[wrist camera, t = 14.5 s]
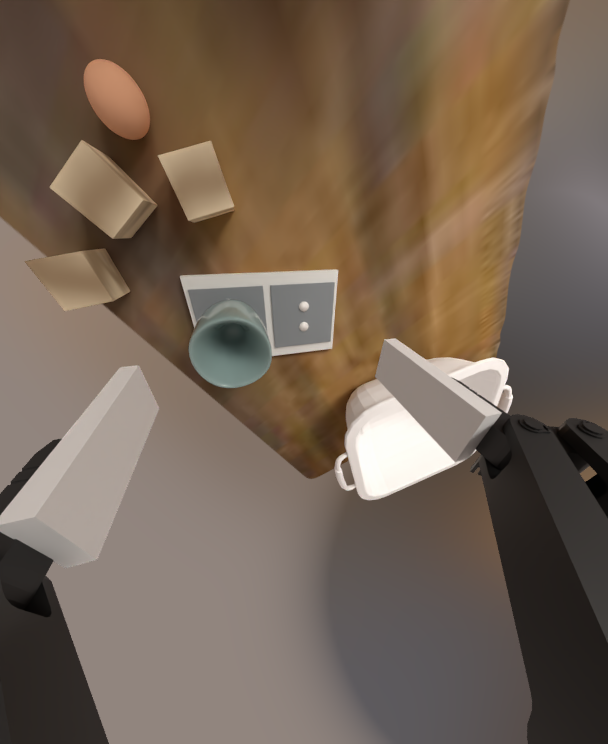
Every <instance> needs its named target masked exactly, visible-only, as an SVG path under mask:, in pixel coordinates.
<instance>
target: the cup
mask: <svg viewBox="0 0 608 744" xmlns="http://www.w3.org/2000/svg"><path fill="white" fill-rule="evenodd" d="M188 349H189V357H190V360H191V362H192V365H193V366H194V368H195V370H196V371H197V372H198V373H199V374H200V376H201V377H203V378H204V379H205V380H206V381H208V382H210V383H211V384H213V385H216V386H219V387H223V388H237V387H242V386H245V385H249V384H251V383H253V382H255V381H256V380H258V379H259V378H261V377H262V376H263V375H264V374H265V373H266V372H267V370H268V369H269V367H270V364H271V360H272V349H271V344H270V340H269V337H268V334H267V331H266V328H265V326H264V324H263V322H262V320H261V318H260V316H259V315H258V313H257V312H256V311H255V310H254V309H253V308H252V307H251V306H250V305H249V304H247V303H245V302H244V301H241V300H237V299H226V300H222V301H218V302H216V303H214V304H212V305H211V306H210V307H208V308H207V309H206V310H205V311H204V312H203V313H202V315H201V316H200V318H199V319H198V321H197V323H196V325H195V328H194V330H193V332H192V335H191V337H190V341H189V348H188Z"/></svg>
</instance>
